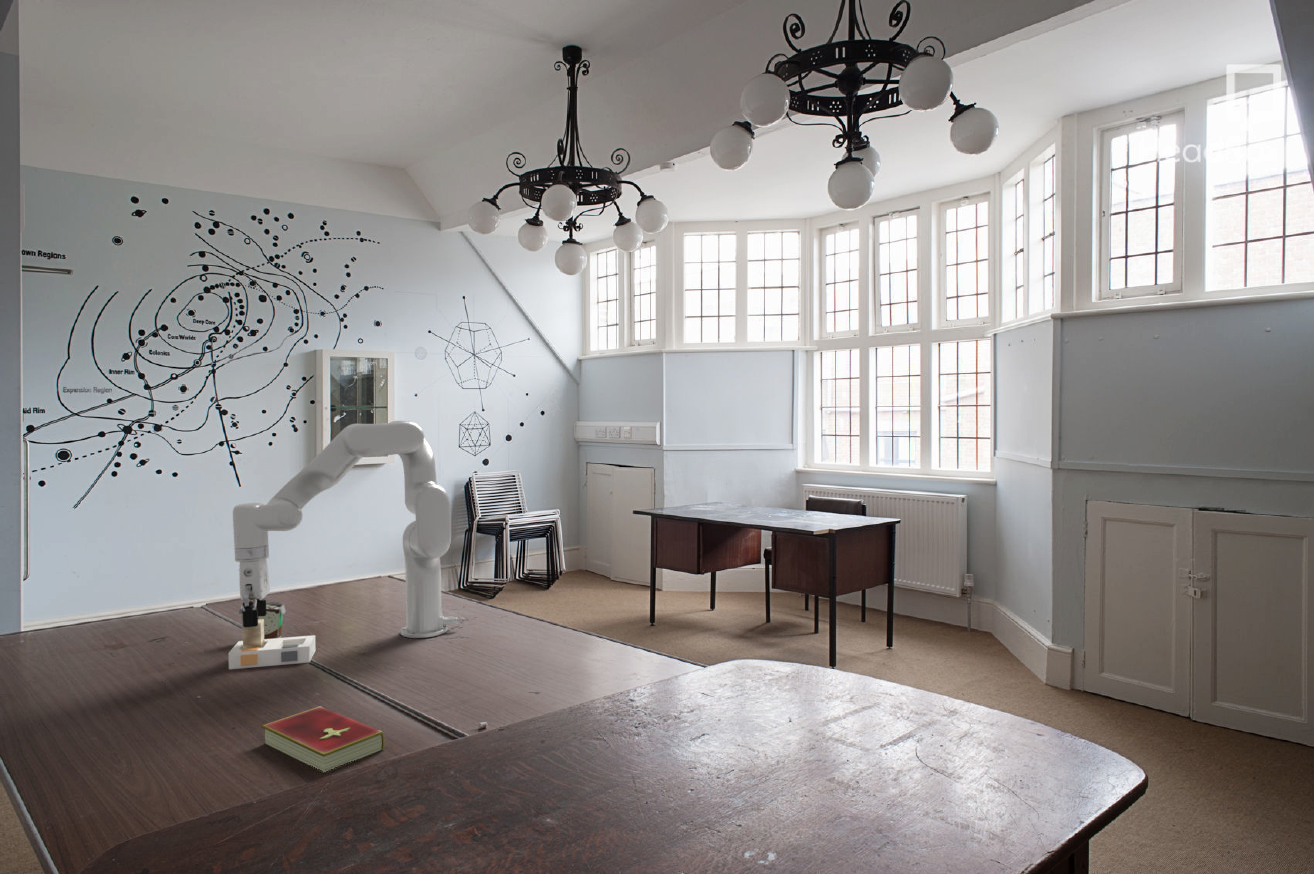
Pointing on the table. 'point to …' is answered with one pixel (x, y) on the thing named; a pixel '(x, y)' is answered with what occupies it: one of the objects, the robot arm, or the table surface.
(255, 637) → the plug
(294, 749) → the hardcover book
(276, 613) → the food container
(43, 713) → the table surface
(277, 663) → the socket block
